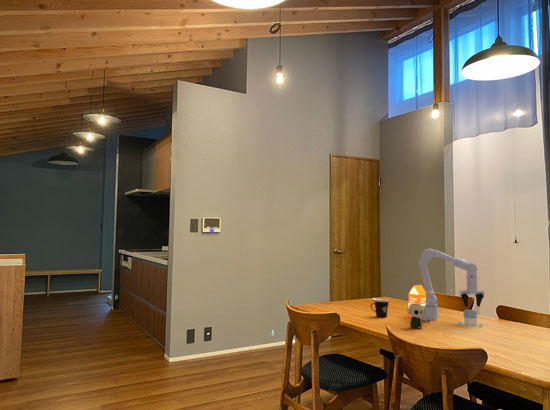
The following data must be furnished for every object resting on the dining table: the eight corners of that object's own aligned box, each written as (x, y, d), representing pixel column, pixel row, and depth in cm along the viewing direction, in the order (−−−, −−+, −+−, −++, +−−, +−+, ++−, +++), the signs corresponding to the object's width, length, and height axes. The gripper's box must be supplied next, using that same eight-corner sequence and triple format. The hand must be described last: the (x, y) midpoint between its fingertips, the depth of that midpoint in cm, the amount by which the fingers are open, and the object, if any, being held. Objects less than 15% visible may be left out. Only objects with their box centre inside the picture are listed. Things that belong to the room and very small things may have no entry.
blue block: (468, 318, 237) (468, 311, 237) (463, 316, 242) (463, 309, 242) (476, 318, 238) (476, 311, 238) (471, 316, 243) (471, 309, 243)
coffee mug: (387, 315, 266) (387, 300, 267) (389, 318, 257) (389, 302, 258) (368, 315, 267) (369, 299, 268) (370, 317, 259) (370, 301, 259)
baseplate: (467, 328, 233) (466, 325, 233) (455, 324, 244) (455, 321, 244) (486, 328, 234) (486, 325, 234) (473, 323, 246) (473, 321, 246)
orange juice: (408, 316, 266) (408, 284, 267) (416, 314, 271) (416, 284, 273) (419, 318, 260) (418, 286, 261) (427, 316, 265) (426, 285, 267)
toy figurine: (411, 330, 227) (411, 306, 228) (403, 327, 234) (403, 303, 235) (428, 329, 230) (428, 305, 231) (420, 326, 237) (420, 303, 238)
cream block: (469, 325, 236) (469, 318, 237) (464, 323, 241) (463, 316, 242) (477, 325, 237) (477, 318, 237) (471, 323, 242) (471, 316, 242)
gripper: (464, 284, 242) (464, 307, 241) (487, 284, 243) (487, 307, 242) (457, 282, 249) (457, 305, 248) (480, 282, 250) (480, 305, 249)
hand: (472, 306), depth 245 cm, fingers open, 7 cm apart
